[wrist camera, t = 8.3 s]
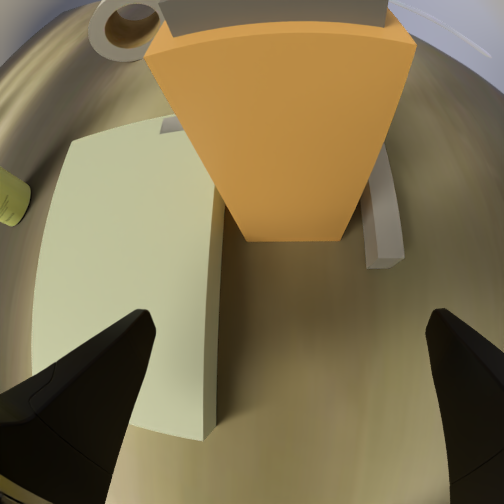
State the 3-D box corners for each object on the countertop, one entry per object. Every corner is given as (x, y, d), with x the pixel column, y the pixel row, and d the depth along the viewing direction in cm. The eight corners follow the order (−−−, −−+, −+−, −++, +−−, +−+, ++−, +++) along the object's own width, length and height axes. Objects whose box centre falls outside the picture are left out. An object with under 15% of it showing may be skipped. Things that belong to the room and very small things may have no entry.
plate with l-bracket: (385, 426, 12) (398, 440, 10) (54, 382, 16) (32, 384, 14) (366, 126, 18) (372, 104, 15) (87, 155, 21) (72, 141, 19)
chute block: (339, 241, 16) (426, 7, 3) (246, 242, 17) (123, 23, 3) (332, 161, 17) (353, -50, 4) (250, 163, 18) (184, -40, 5)
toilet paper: (188, 40, 24) (161, -26, 15) (111, 74, 25) (73, 18, 15) (182, 14, 27) (162, -37, 18) (119, 41, 28) (91, -5, 18)
